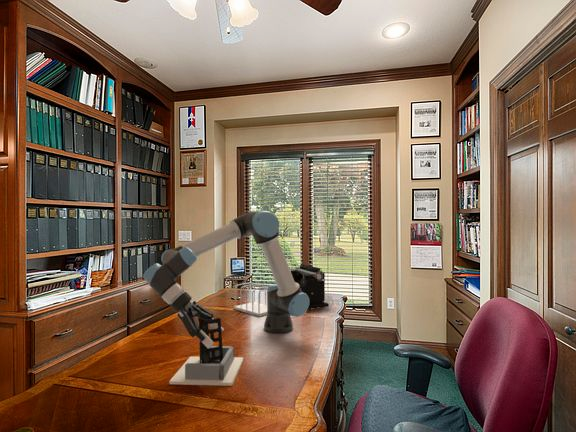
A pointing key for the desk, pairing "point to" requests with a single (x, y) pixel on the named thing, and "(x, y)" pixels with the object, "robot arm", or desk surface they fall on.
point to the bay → (209, 370)
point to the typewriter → (311, 284)
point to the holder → (203, 349)
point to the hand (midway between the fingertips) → (216, 338)
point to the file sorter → (252, 307)
